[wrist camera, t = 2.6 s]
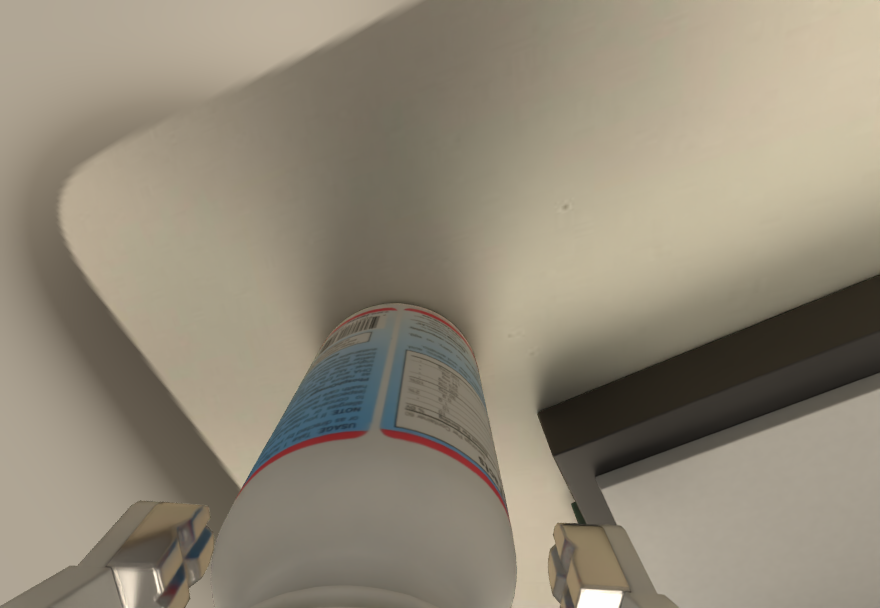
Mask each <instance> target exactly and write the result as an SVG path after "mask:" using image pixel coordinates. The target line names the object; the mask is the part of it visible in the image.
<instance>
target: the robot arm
mask: <svg viewBox="0 0 880 608" xmlns="http://www.w3.org/2000/svg"><path fill="white" fill-rule="evenodd" d="M210 518H211V516H210V511H209V507H208V506H205V505H195V504H183V503H170V502H153V501H138V502H136V503H135V504H133V505H131V506H130V508H129V509H128V510H127V511H126V512H125V513H124V514H123V515H122V516H121V518H120V519H119V520H118V521H117V522H116V523H115V524H114V525H113V527H112V528H111V529H110V530H109V531H108V532H107V533H106V534H105V536H104V537H103V538H102V539H101V540H100V541H99V542H98V543H97V544H96V546H95V547H94V548H93V549H92V550H91V551H90V552H89V553H88V554H87V555H86V557H85V558H84V559H83V560H82V561H81V562H80V563H79V564H78V566H69V567H67V568H65V569H63V570H62V571H60V572H58V573H57V574H55V575H53V576H51V577H50V578H48V579H46V580H44V581H43V582H41V583H39V584H38V585H36V586H34V587H32V588H31V589H29V590H27V591H25V592H24V593H22V594H20V595H18V596H17V597H15V598H13V599H12V600H10V601H8V602H6V603H5V604H3V605H1V606H0V608H185V607H186V605H187V603H188V602H189V600H190V593H189V588H190V587H191V586H192V585H194V584H195V583H196V582H198V581H199V580H200V579H201V578H202V577H203V575H204V573H205V571H206V570H207V567H208V566H209V563H210V560H211V557H212V554H213V551H214V534H213V531H211V529H210V528H209V527H208V526H206V524H207V523H208V521H209V520H210ZM553 536H554V540H555V543H556V544H555V545H554V546H553V547H552V548H551V549H550V552H549V558H548V574H549V581H550V586H551V590H552V594H553V596H554V597H555V598H556V599H557V600H558V602H559V603H560V604H561V605H560V608H679V607H678V606H677V605H676V604H675V603H674V602H672V601H671V600H670V599H669V598H668V597H667V596H666V595H664V594H657V592H656V590H655V588H654V586H653V584H652V582H651V580H650V578H649V576H648V574H647V572H646V570H645V568H644V566H643V564H642V562H641V560H640V558H639V556H638V554H637V552H636V550H635V548H634V546H633V544H632V542H631V540H630V538H629V536H628V534H627V532H626V530H625V529H624V528H623V527H622V526H620V525H598V524H577V523H557V524H556V526H555V528H554V532H553Z"/></svg>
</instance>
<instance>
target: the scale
mask: <svg viewBox="0 0 880 608" xmlns="http://www.w3.org/2000/svg"><path fill="white" fill-rule="evenodd" d="M537 415H538V418H539V420H540V423H541V426H542V428H543V431H544V434H545V436H546V439H547V442H548V444H549V447H550V450H551V453H552V455H553V457H554V459H555V461H556V463H557V466H558V468H559V470H560V472H561V474H562V476H563V478H564V480H565V482H566V484H567V486H568V488H569V490H570V492H571V494H572V496H573V498H574V500H575V502H574V503H572V504H571V505H572V508H573V511H574V513H575V516H576V519H577V521H578V524H598V525H620V526H622V527H623V528H624V529H625V530H626V532H627V534H628V536H629V538H630V540H631V542H632V544H633V546H634V548H635V550H636V552H637V554H638V556H639V558H640V560H641V562H642V564H643V566H644V568H645V570H646V572H647V574H648V576H649V578H650V580H651V582H652V584H653V586H654V588H655V590H656V592H657V594H664V595H666V596H667V597H668V598H669V599H670V600H671V601H672V602H674V603H675V604H676V605H677V606H678V607H679V608H880V275H878V276H876V277H873V278H871V279H868V280H866V281H863V282H861V283H858V284H856V285H854V286H851V287H849V288H846V289H844V290H841V291H839V292H836V293H834V294H831V295H829V296H826V297H824V298H821V299H819V300H816V301H814V302H811V303H809V304H806V305H804V306H801V307H799V308H796V309H794V310H791V311H789V312H786V313H784V314H781V315H779V316H776V317H774V318H771V319H769V320H766V321H764V322H761V323H759V324H757V325H754V326H752V327H749V328H747V329H744V330H742V331H739V332H737V333H734V334H732V335H729V336H727V337H724V338H722V339H719V340H717V341H714V342H712V343H709V344H707V345H704V346H702V347H699V348H697V349H694V350H692V351H689V352H687V353H684V354H682V355H679V356H677V357H674V358H672V359H669V360H667V361H664V362H662V363H660V364H657V365H655V366H652V367H650V368H647V369H645V370H642V371H640V372H637V373H635V374H632V375H630V376H627V377H625V378H622V379H620V380H617V381H615V382H612V383H610V384H607V385H605V386H602V387H600V388H597V389H595V390H592V391H590V392H587V393H585V394H582V395H580V396H577V397H575V398H572V399H570V400H567V401H565V402H563V403H560V404H558V405H555V406H553V407H550V408H548V409H545V410H543V411H540V412H538V413H537Z"/></svg>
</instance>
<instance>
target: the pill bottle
mask: <svg viewBox="0 0 880 608" xmlns="http://www.w3.org/2000/svg"><path fill="white" fill-rule="evenodd" d="M516 574H517V567H516V553H515V547H514V541H513V534H512V528H511V524H510V520H509V514H508V509H507V504H506V500H505V494H504V490H503V485H502V480H501V476H500V471H499V466H498V461H497V456H496V452H495V447H494V442H493V438H492V432H491V427H490V423H489V418H488V414H487V409H486V404H485V399H484V394H483V390H482V385H481V380H480V376H479V371H478V366H477V363H476V359H475V356H474V353H473V351H472V349H471V347H470V345H469V343H468V341H467V340H466V338H465V337H464V336H463V334H462V333H461V332H460V331H459V330H458V329H457V328H456V327H455V326H454V325H453V324H452V323H451V322H450V321H448V320H447V319H446V318H444V317H443V316H441V315H439V314H437V313H435V312H433V311H431V310H428V309H426V308H422V307H419V306H415V305H409V304H400V303H391V304H381V305H376V306H372V307H369V308H366V309H363V310H361V311H359V312H357V313H355V314H353V315H351V316H350V317H348V318H347V319H345V320H344V321H342V322H341V323H340V324H339V325H338V326H337V327H336V328H335V329H334V330H333V331H332V332H331V334H330V335H329V336H328V338H327V339H326V340H325V342H324V344H323V345H322V347H321V348H320V350H319V352H318V354H317V356H316V357H315V359H314V361H313V363H312V364H311V366H310V368H309V370H308V372H307V373H306V375H305V377H304V379H303V380H302V382H301V384H300V386H299V388H298V389H297V391H296V393H295V395H294V396H293V398H292V400H291V402H290V404H289V405H288V407H287V409H286V411H285V413H284V414H283V416H282V418H281V420H280V421H279V423H278V425H277V427H276V429H275V430H274V432H273V434H272V436H271V437H270V439H269V441H268V442H267V444H266V446H265V447H264V449H263V451H262V453H261V455H260V456H259V458H258V460H257V462H256V464H255V465H254V467H253V469H252V471H251V472H250V474H249V476H248V478H247V480H246V481H245V483H244V485H243V487H242V489H241V490H240V492H239V494H238V496H237V498H236V500H235V502H234V503H233V505H232V507H231V509H230V511H229V513H228V515H227V517H226V519H225V521H224V523H223V525H222V527H221V529H220V532H219V534H218V537H217V541H216V544H215V548H214V552H213V557H212V564H211V589H212V597H213V602H214V607H215V608H511V606H512V603H513V599H514V594H515V587H516Z"/></svg>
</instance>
